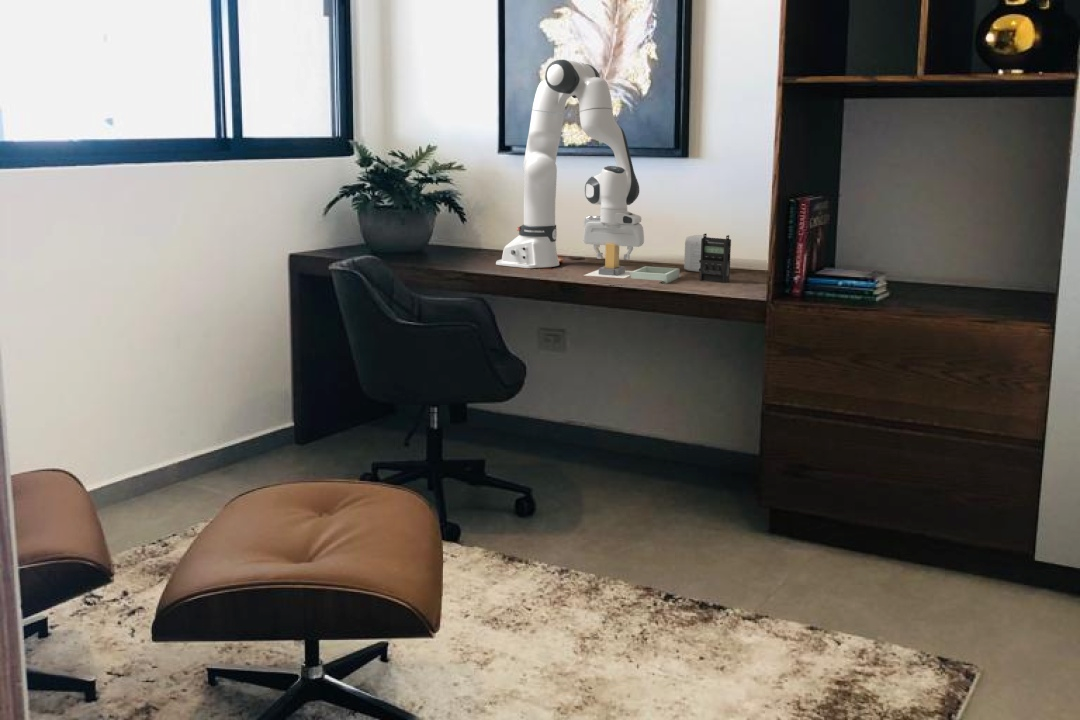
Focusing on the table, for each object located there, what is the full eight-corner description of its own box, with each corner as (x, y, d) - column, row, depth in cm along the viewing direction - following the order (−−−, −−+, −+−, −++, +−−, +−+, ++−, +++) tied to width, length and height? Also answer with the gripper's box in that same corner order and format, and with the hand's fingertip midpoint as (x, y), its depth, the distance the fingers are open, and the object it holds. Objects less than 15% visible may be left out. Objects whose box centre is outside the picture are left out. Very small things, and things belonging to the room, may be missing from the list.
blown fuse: (605, 274, 364) (605, 243, 362) (610, 272, 369) (610, 242, 367) (613, 274, 363) (614, 244, 361) (618, 272, 368) (619, 242, 365)
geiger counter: (695, 280, 359) (697, 234, 355) (701, 278, 362) (703, 232, 359) (725, 283, 353) (727, 236, 350) (731, 281, 357) (733, 235, 353)
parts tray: (630, 281, 356) (630, 272, 356) (644, 275, 369) (644, 266, 368) (666, 283, 352) (666, 274, 351) (679, 277, 364) (679, 268, 364)
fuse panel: (583, 278, 362) (583, 269, 361) (600, 271, 376) (600, 262, 375) (623, 281, 356) (624, 272, 356) (639, 274, 371) (640, 265, 370)
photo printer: (714, 272, 377) (716, 235, 374) (709, 273, 373) (710, 237, 370) (687, 269, 382) (688, 233, 379) (682, 271, 379) (683, 234, 376)
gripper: (580, 216, 363) (580, 258, 366) (639, 219, 355) (639, 261, 358) (587, 214, 369) (587, 256, 372) (646, 217, 361) (645, 259, 364)
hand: (613, 259), depth 365 cm, fingers open, 8 cm apart
